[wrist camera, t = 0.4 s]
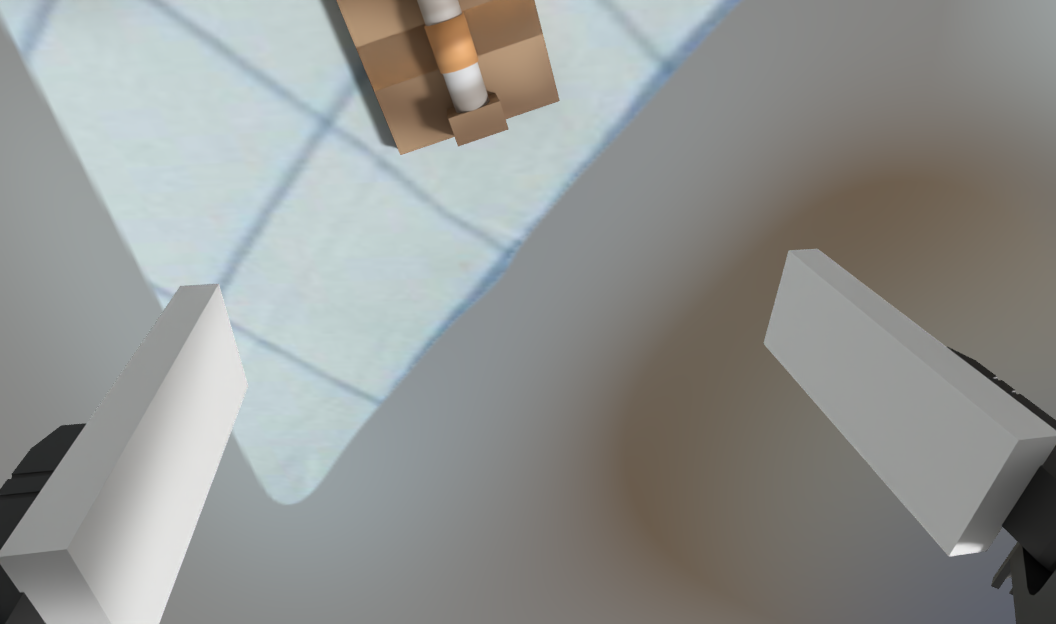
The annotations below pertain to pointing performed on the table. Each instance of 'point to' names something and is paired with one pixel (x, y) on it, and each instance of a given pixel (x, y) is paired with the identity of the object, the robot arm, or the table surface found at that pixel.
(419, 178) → the table surface
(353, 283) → the table surface
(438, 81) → the rail
